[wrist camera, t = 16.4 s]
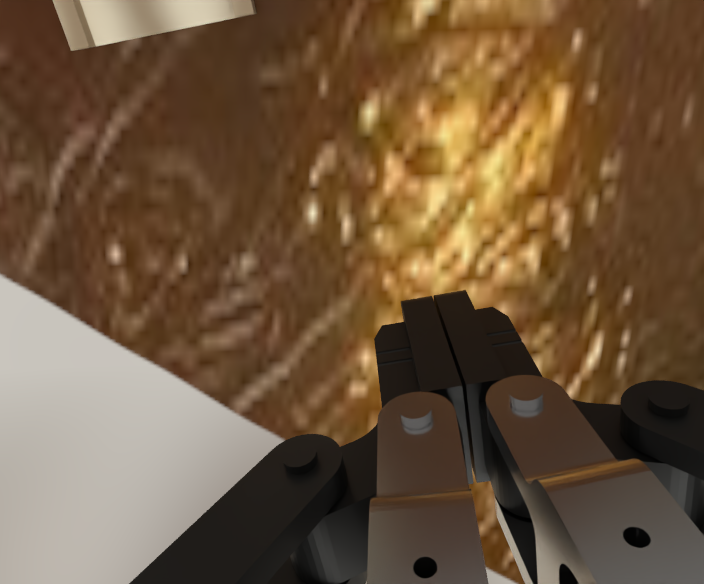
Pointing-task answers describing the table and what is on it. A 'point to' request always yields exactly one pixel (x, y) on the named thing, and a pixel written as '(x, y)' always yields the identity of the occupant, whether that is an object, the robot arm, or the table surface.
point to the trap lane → (139, 18)
